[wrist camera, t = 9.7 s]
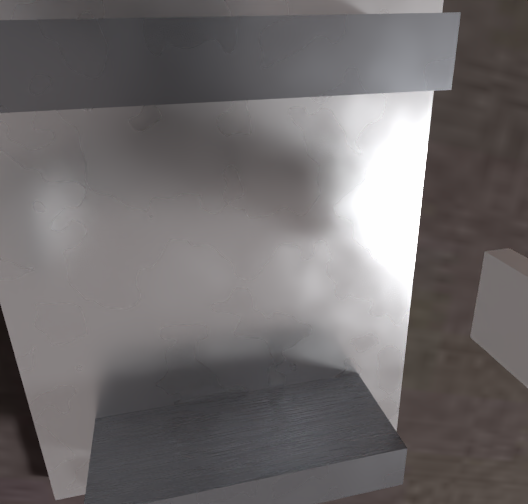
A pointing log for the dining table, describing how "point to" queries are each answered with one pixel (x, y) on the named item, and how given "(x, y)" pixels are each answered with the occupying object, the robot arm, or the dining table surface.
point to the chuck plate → (215, 239)
